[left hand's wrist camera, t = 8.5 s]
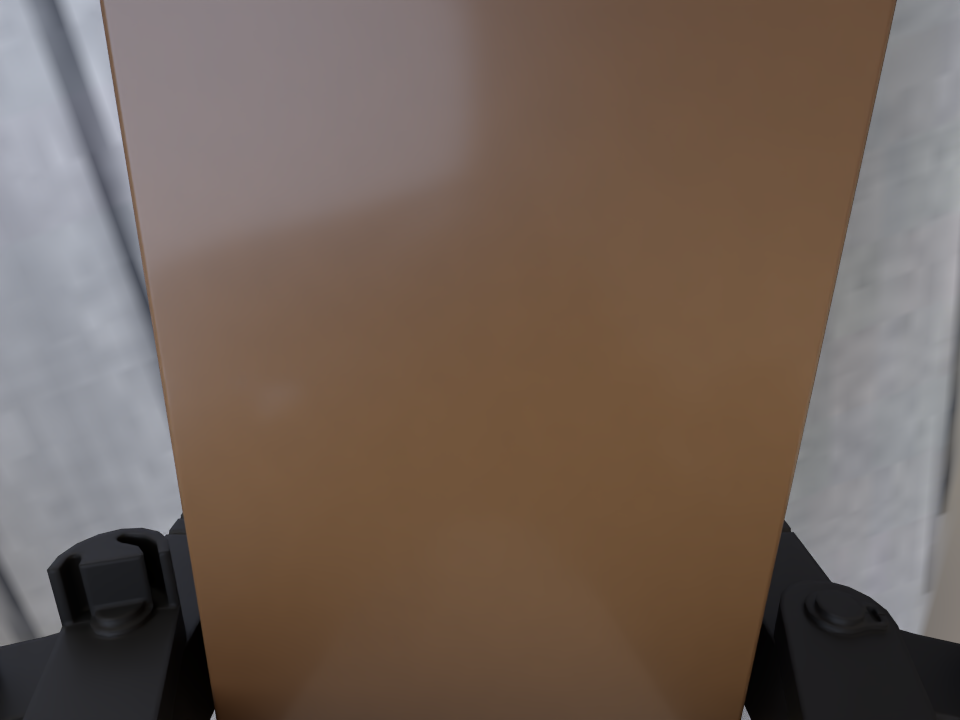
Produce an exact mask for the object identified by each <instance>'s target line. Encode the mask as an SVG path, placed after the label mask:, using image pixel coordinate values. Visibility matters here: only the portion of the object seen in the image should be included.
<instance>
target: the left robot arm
mask: <svg viewBox="0 0 960 720" xmlns="http://www.w3.org/2000/svg"><path fill="white" fill-rule="evenodd" d="M47 572H48V576H49V579H50V583H51V586H52V590H53V594H54V597H55V601H56V605H57V608H58V612H59V615H60V619H61V623H62V629H61V631H60V633H57V634H53V635H50V636H46V637H42V638H37V639H33V640H28V641H24V642H19V643H15V644H10V645H6V646H1V647H0V720H210V718H211V716H212V714H213V712H214V710H215V707H214V701H213V695H212V689H211V683H210V677H209V670H208V664H207V658H206V652H205V646H204V640H203V633H202V627H201V621H200V615H199V609H198V603H197V596H196V590H195V584H194V578H193V572H192V566H191V560H190V553H189V547H188V541H187V535H186V529H185V523H184V516H183V513H182V514H181V519H178V520H177V521H176V522H175V524H174V525H173V526H172V528H171V529H170V530H169V535H166V536H163V535H162V534H161V533H160V532H158V531H154V530H149V529H145V528H130V529H119V530H115V531H111V532H107V533H102V534H98V535H96V536H94V537H91V538H89V539H87V540H84V541H82V542H80V543H77V544H76V545H74V546H73V547H71V548H70V549H68V550H67V551H65V552H64V553H62V554H61V555H59V556H58V557H57V558H56V560H55V561H54V562H53V563H52V564H51V566H50V567H49V568H48V569H47ZM744 705H745V707H746V709H747V712H748V714H749V716H750V718H751V720H960V644H958V643H953V642H949V641H944V640H940V639H935V638H931V637H926V636H922V635H917V634H913V633H910V632H906V631H903V630H899V627H898V625H897V624H896V622H895V621H894V620H893V618H892V617H891V615H890V614H889V613H888V611H887V610H886V609H884V608H883V607H882V606H881V605H879V604H878V603H877V602H875V601H874V600H873V599H872V598H870V597H869V596H866V595H864V594H862V593H860V592H858V591H856V590H854V589H852V588H850V587H847V586H844V585H840V584H836V583H833V582H831V581H830V580H829V578H828V577H827V576H826V574H825V573H824V572H823V570H822V569H821V568H820V566H819V565H818V564H817V562H816V561H815V560H814V558H813V557H812V556H811V554H810V553H809V552H808V550H807V549H806V548H805V547H804V545H803V544H802V543H801V541H800V540H799V539H798V537H797V536H796V535H795V533H794V532H791V528H790V527H789V525H788V524H787V523H786V521H785V520H784V523H783V528H782V532H781V537H780V542H779V546H778V551H777V555H776V560H775V565H774V569H773V574H772V578H771V583H770V588H769V592H768V597H767V602H766V606H765V611H764V615H763V620H762V625H761V629H760V634H759V638H758V643H757V648H756V652H755V657H754V662H753V666H752V671H751V675H750V680H749V685H748V689H747V694H746V698H745V703H744Z"/></svg>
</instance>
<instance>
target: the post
mask: <svg viewBox="0 0 960 720" xmlns="http://www.w3.org/2000/svg"><path fill="white" fill-rule="evenodd" d="M896 1H897V0H100V5H101V11H102V17H103V23H104V30H105V36H106V42H107V48H108V54H109V60H110V67H111V73H112V79H113V85H114V91H115V97H116V104H117V110H118V116H119V122H120V128H121V134H122V140H123V147H124V153H125V159H126V165H127V171H128V177H129V184H130V190H131V196H132V202H133V208H134V214H135V221H136V227H137V233H138V239H139V245H140V251H141V258H142V264H143V270H144V276H145V282H146V288H147V295H148V301H149V307H150V313H151V319H152V325H153V332H154V338H155V344H156V350H157V356H158V362H159V368H160V375H161V381H162V387H163V393H164V399H165V405H166V412H167V418H168V424H169V430H170V436H171V442H172V449H173V455H174V461H175V467H176V473H177V479H178V486H179V492H180V498H181V504H182V510H183V516H184V523H185V529H186V535H187V541H188V547H189V553H190V560H191V566H192V572H193V578H194V584H195V590H196V596H197V603H198V609H199V615H200V621H201V627H202V633H203V640H204V646H205V652H206V658H207V664H208V670H209V677H210V683H211V689H212V695H213V701H214V707H215V714H216V720H741V717H742V712H743V708H744V703H745V698H746V694H747V689H748V685H749V680H750V675H751V671H752V666H753V662H754V657H755V652H756V648H757V643H758V638H759V634H760V629H761V625H762V620H763V615H764V611H765V606H766V602H767V597H768V592H769V588H770V583H771V578H772V574H773V569H774V565H775V560H776V555H777V551H778V546H779V542H780V537H781V532H782V528H783V523H784V518H785V514H786V509H787V505H788V500H789V495H790V491H791V486H792V482H793V477H794V472H795V468H796V463H797V458H798V454H799V449H800V445H801V440H802V435H803V431H804V426H805V421H806V417H807V412H808V408H809V403H810V398H811V394H812V389H813V385H814V380H815V375H816V371H817V366H818V361H819V357H820V352H821V348H822V343H823V338H824V334H825V329H826V325H827V320H828V315H829V311H830V306H831V301H832V297H833V292H834V288H835V283H836V278H837V274H838V269H839V265H840V260H841V255H842V251H843V246H844V241H845V237H846V232H847V228H848V223H849V218H850V214H851V209H852V205H853V200H854V195H855V191H856V186H857V181H858V177H859V172H860V168H861V163H862V158H863V154H864V149H865V144H866V140H867V135H868V131H869V126H870V121H871V117H872V112H873V108H874V103H875V98H876V94H877V89H878V84H879V80H880V75H881V71H882V66H883V61H884V57H885V52H886V48H887V43H888V38H889V34H890V29H891V24H892V20H893V15H894V11H895V6H896Z"/></svg>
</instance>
